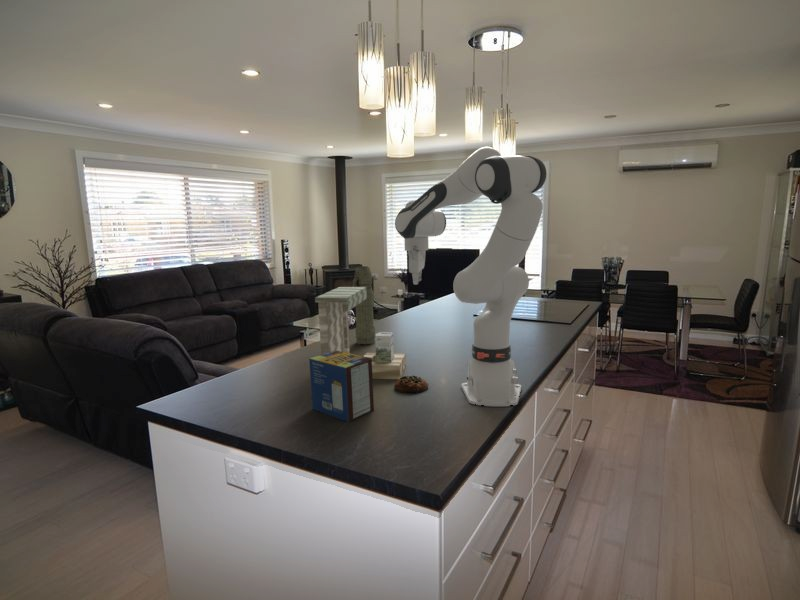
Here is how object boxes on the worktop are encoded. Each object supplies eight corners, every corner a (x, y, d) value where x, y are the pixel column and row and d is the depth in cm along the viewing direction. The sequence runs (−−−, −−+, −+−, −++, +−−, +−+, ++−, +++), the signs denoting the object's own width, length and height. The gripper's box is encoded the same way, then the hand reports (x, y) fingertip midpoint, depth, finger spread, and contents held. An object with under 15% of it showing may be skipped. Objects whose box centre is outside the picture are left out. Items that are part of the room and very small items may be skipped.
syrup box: (394, 370, 165) (393, 331, 162) (391, 375, 159) (390, 335, 157) (379, 369, 166) (378, 331, 163) (376, 374, 160) (374, 335, 158)
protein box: (337, 398, 138) (335, 349, 136) (374, 410, 128) (372, 357, 126) (311, 409, 130) (308, 357, 128) (348, 422, 120) (345, 367, 118)
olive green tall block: (349, 344, 204) (346, 267, 198) (366, 338, 213) (363, 265, 208) (365, 346, 199) (362, 268, 193) (381, 341, 208) (378, 265, 203)
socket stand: (396, 385, 148) (394, 297, 143) (319, 383, 152) (314, 297, 147) (408, 361, 175) (406, 286, 171) (342, 360, 179) (339, 286, 175)
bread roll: (399, 395, 139) (398, 379, 139) (390, 388, 149) (390, 374, 149) (433, 392, 142) (432, 377, 142) (422, 386, 152) (421, 371, 152)
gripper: (422, 246, 155) (422, 286, 157) (427, 244, 175) (428, 279, 177) (404, 246, 156) (405, 286, 158) (411, 244, 176) (412, 279, 178)
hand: (417, 282), depth 168 cm, fingers open, 8 cm apart
